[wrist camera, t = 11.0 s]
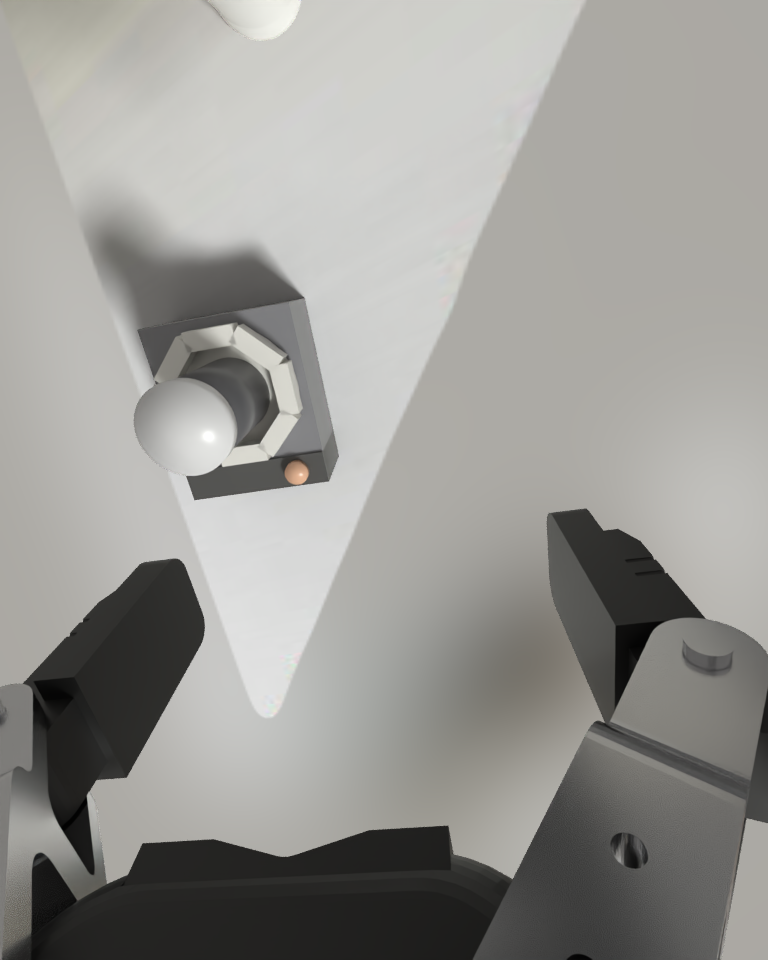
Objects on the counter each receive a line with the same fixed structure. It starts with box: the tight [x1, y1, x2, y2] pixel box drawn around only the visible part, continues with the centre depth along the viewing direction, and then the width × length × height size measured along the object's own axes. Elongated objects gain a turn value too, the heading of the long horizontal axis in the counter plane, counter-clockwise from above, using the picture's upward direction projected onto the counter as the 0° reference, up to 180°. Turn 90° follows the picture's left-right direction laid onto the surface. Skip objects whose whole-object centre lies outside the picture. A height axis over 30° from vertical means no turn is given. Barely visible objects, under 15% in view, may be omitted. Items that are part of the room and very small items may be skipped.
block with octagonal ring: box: [138, 298, 339, 500], centre depth 35 cm, size 12×10×6 cm
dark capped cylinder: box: [134, 357, 270, 476], centre depth 29 cm, size 5×5×8 cm
